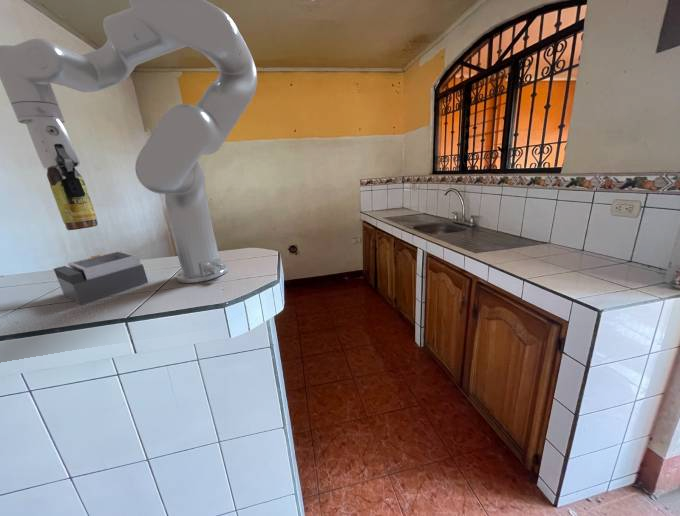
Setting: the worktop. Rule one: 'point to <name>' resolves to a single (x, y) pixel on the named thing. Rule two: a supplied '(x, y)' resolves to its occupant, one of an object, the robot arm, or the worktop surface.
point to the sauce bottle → (72, 203)
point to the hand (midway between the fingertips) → (72, 196)
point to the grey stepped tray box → (100, 276)
